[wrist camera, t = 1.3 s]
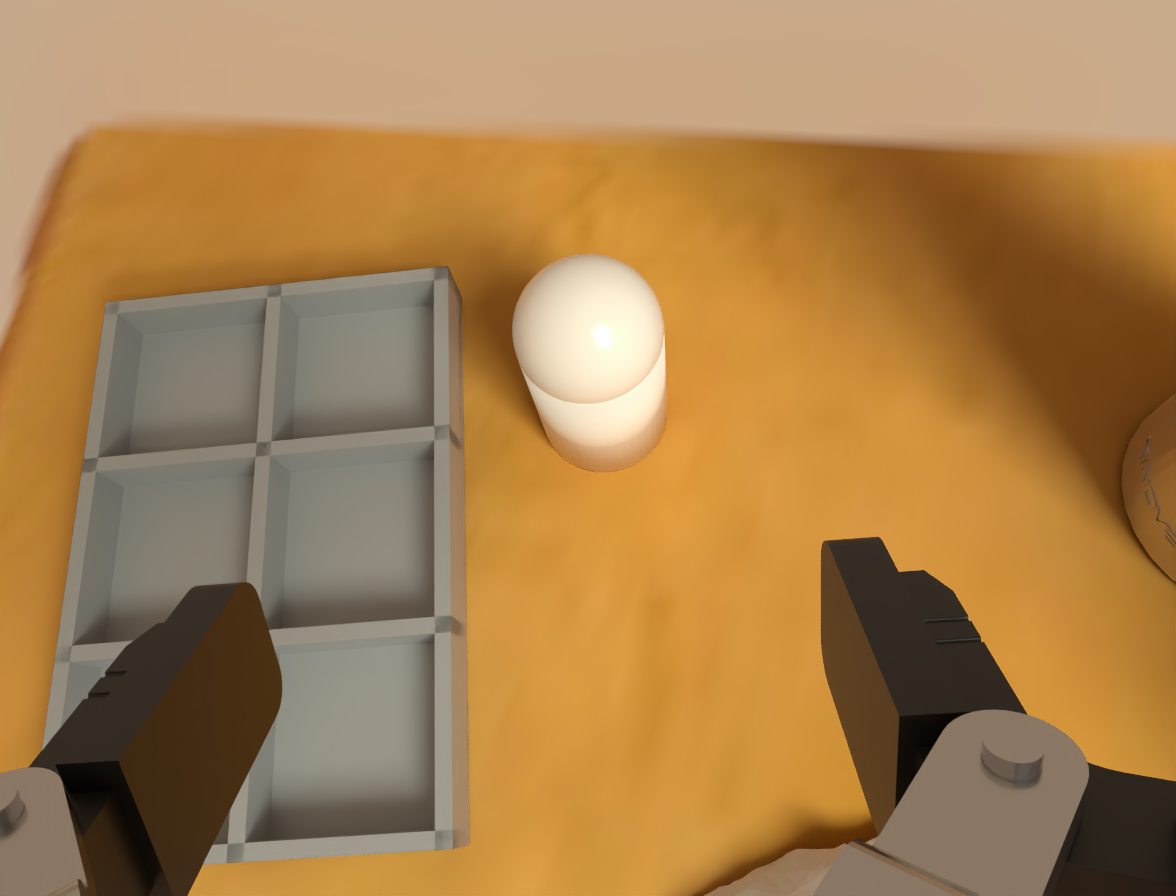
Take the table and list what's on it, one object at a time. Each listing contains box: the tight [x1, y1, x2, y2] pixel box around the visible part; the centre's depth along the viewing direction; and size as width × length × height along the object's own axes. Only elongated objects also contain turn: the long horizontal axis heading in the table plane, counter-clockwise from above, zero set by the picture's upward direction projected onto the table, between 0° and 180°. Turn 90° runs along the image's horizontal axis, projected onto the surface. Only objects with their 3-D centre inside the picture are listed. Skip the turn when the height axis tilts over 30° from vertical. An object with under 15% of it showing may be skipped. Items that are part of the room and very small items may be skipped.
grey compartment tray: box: [42, 266, 470, 865], centre depth 36 cm, size 15×22×3 cm, turn 3°
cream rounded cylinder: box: [512, 254, 667, 472], centre depth 34 cm, size 5×5×10 cm
